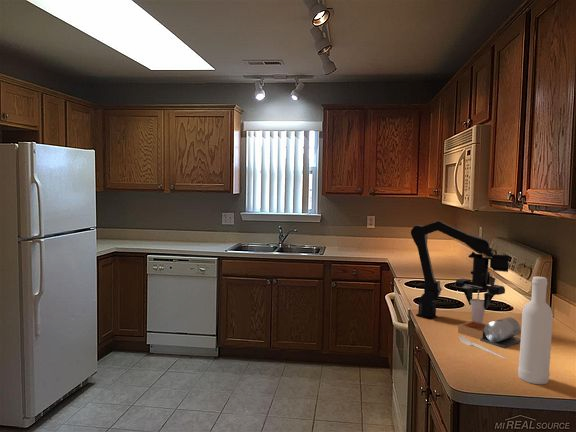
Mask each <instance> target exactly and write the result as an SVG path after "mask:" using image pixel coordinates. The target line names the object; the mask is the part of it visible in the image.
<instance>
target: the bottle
mask: <svg viewBox="0 0 576 432" xmlns="http://www.w3.org/2000/svg"><path fill="white" fill-rule="evenodd" d="M531 283H532V284H531V285H532V286H531V299H530V301H528V302H527V303H525V305H524V307H523V309H522V313H521V326H520V339H521V342H520V343H519V346H520V347H519V360H518V367H517V368H518V373H517V375H518V377H519V379H520V380H521V381H524V382H526V383H529V384H533V385H546V384H548V383H549V378H550V364H551V350H552V336H553V334H552V333H553V322H554V321H553V319H554V315H553V311H552V308H551V306H550V305H549V304H548V303H547V302H546V301H547V288H548V287H547V286H548V279H547V277H544V276H538V275H537V276H533V277H532V280H531Z"/></svg>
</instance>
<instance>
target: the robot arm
mask: <svg viewBox="0 0 576 432" xmlns="http://www.w3.org/2000/svg"><path fill="white" fill-rule="evenodd" d="M434 232H441V233H442V234H444V235H446V236H449V237H451V238H453V239H456V240H457V241H460V242H461V243H464V244H465V245H466V246H467V247H469V248H470V249H472V250H473V251H472V252H471V253H470V254H469V255H468V258H471V259H472V270H471V271H470V274H471V275H472V277H471V278H472V279H467V278H463V277H462V278H458V279H456V280H455V281H454V286H455V287H457V288H458V287H459V288H460V290H461V291H462V292H463V293H464V294H463V295H464V296H465V299H466V300H467V302H468V305H469V306H471V303H470V300H471V299H473V293H474V290H475V289H478V290H480V289H481V290H485V291H487V292H484V293H483V298H484V299H483V300H484V307H485V310H488V307H489V305H490V303H491V301H492V300H493V297H495V296H496V295H497V296H499V295H503V294H504V295H505V294H506V288H505V286H504V285H499V284H495V282H496V277H493V276H491V274H490V271H489V268H491V269H492V271H495V272H503V273H508V272H509V263H510V262H509V256H510V255H509V254H498V253H495V252H494V251H493V250H492V248H491V247H490V245H491V244H490V241H489V240H488V239H486V238H484V237H481V236H477V235H472V234H469V233H466V232H465V231H462V230H460V229H458V228H456V227H453V226H451V225H449V224H447V223H445V222H443V221H442V220H436V221H434V222H431V223H429V224H428V223H427V224H426V225H423V224H418V225H415V226H413V227H412V228H411V230H410V235H411V237H412V240H413V243H414V245H416V248H417V250H418V251H417V252H418V256H419V261H420V265H421V270H422V275H423V278H424V279H423V280H424V281H423V283H424V285H423V291H424V292H423V293H422V294H421V296H420V297H418V312H417V313H416V314H415V316H417V317H420V318H423V319H427V320H430V319H434V318H437V317H438V315H437V307H436V304H437V303H436V302H434V301H436V300H438V298H439V297H440V295H441V293H442V292H441V291H442V290H443V288H442V287H441V281H440V280H437V279H436V278H435V275H434V270H433V266H432V262H431V261H432V260H431V258H430V253H429V248H428V235H429V234H432V233H434Z"/></svg>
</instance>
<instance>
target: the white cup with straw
mask: <svg viewBox="0 0 576 432" xmlns="http://www.w3.org/2000/svg"><path fill="white" fill-rule="evenodd" d="M470 303H471V305H470V308H471V309H470V312H471V321H476V322H479V323H483V322H484V316H485V312H486V311H485V310H486V309H485V307H484V299H481V298H480V289H477V298H472V299H471V300H470Z"/></svg>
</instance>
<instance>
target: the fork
mask: <svg viewBox="0 0 576 432" xmlns="http://www.w3.org/2000/svg"><path fill="white" fill-rule="evenodd" d="M458 338H459V340H460V342H461V343H463V344H465V345H467V346H474V347H476V348H477V349H480V350H483V351H485V352H487V353H489V354H493V355H495V356H497V357H500V358H503V359H504V360H507V359H508V358H507V357H505V356H502V355H500V354H498V353H497V352H494V351H493V350H490V349H488V348H486V347H484V346H482V345H480V344H478V343H475V342H472V341H470V340H469V339H468V338H466V337H465V336H464V334H461V335H458Z"/></svg>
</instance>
